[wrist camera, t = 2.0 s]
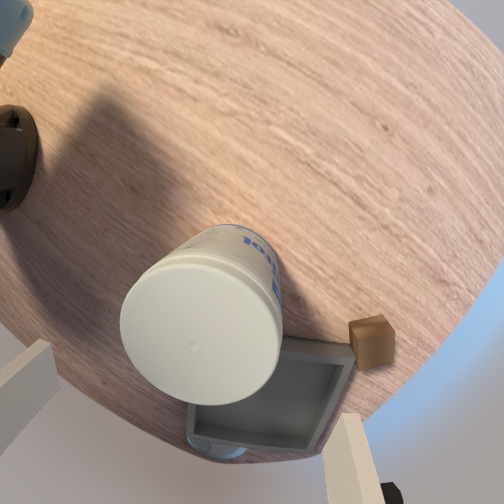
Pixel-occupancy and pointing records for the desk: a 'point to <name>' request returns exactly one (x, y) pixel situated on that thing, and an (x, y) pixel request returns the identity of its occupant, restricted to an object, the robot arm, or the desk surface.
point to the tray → (281, 401)
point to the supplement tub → (207, 317)
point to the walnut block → (372, 342)
